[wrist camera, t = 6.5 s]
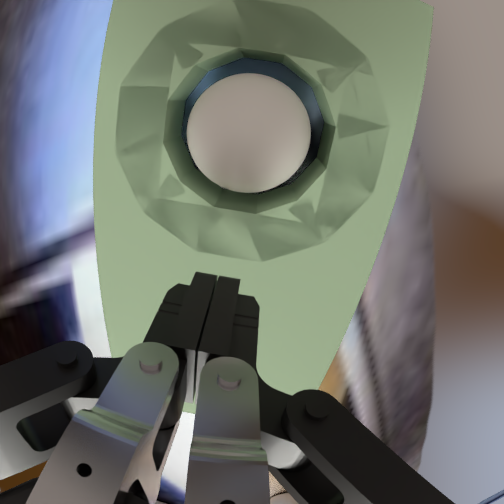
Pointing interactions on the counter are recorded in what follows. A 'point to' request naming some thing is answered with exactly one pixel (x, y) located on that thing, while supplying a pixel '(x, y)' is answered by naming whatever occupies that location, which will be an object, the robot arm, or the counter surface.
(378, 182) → the green
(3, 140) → the counter surface
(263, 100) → the ball
